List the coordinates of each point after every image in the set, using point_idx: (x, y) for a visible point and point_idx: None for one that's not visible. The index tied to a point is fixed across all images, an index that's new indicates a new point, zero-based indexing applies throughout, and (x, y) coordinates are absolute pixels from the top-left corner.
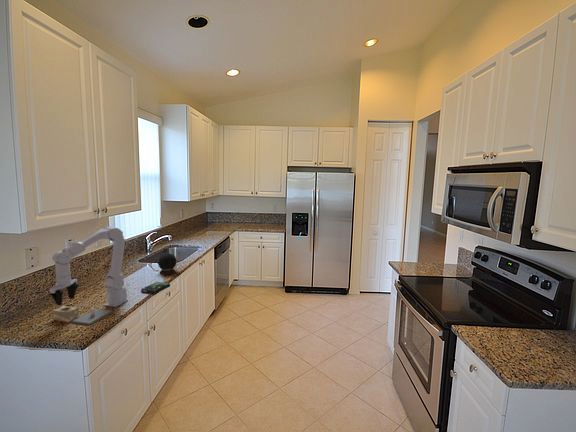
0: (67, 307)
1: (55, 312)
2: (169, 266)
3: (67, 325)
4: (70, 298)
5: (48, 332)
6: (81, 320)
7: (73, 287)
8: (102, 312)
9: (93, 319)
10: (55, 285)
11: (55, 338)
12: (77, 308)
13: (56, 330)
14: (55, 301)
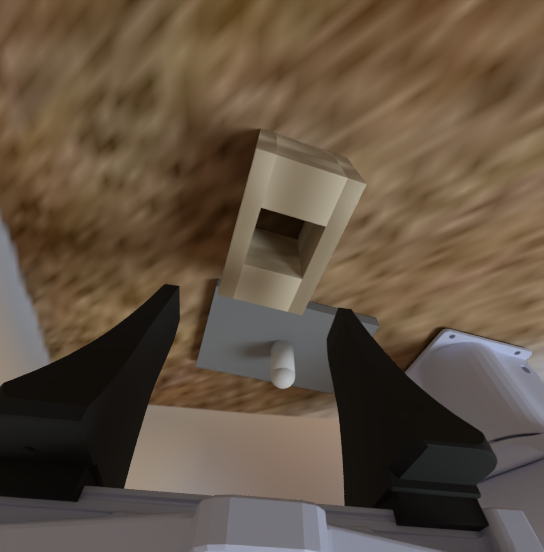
0: (320, 239)
1: (249, 173)
2: None
3: (185, 269)
4: (334, 320)
5: (86, 217)
6: (223, 325)
7: (353, 482)
8: (317, 368)
9: (235, 365)
10: (203, 499)
11: (46, 291)
12: (296, 311)
13: (119, 247)
14: (140, 310)
